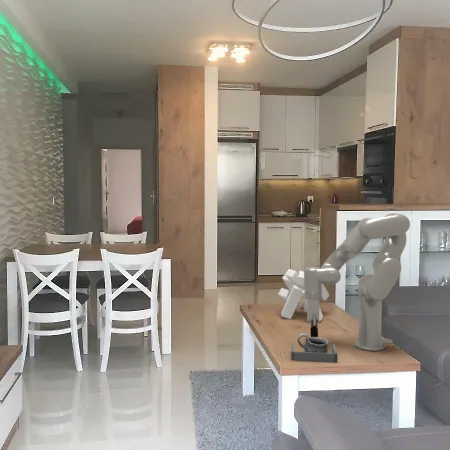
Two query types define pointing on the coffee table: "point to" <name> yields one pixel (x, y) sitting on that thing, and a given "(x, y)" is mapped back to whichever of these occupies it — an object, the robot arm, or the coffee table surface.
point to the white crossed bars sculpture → (296, 293)
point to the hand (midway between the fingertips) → (314, 336)
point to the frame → (314, 355)
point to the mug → (314, 344)
